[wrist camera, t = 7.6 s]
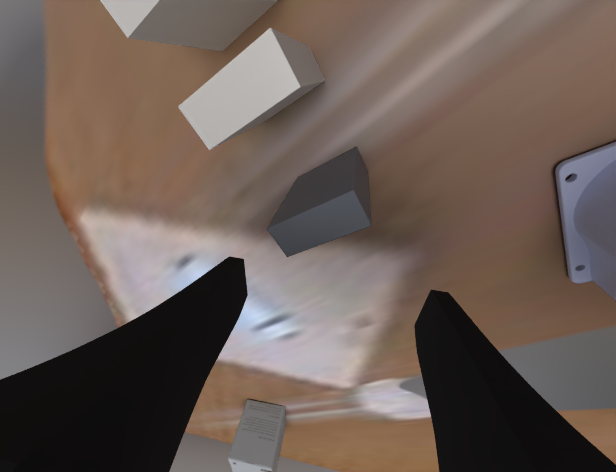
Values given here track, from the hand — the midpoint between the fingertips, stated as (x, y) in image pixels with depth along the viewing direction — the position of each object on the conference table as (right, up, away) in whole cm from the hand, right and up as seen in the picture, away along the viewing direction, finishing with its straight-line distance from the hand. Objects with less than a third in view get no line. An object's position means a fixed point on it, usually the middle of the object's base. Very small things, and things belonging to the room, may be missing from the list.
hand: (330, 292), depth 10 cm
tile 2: (-2, +11, +5) cm, 12 cm away
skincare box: (-7, -25, +30) cm, 39 cm away
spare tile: (+1, +6, +7) cm, 10 cm away
